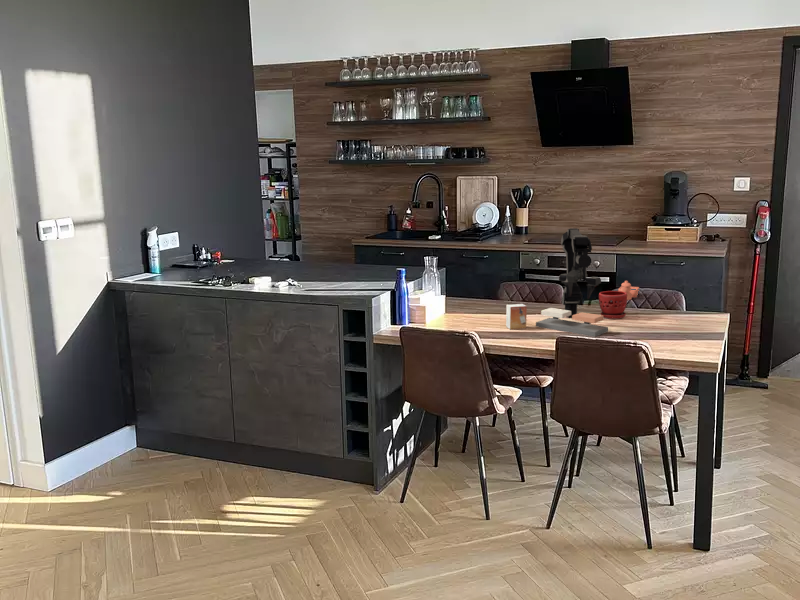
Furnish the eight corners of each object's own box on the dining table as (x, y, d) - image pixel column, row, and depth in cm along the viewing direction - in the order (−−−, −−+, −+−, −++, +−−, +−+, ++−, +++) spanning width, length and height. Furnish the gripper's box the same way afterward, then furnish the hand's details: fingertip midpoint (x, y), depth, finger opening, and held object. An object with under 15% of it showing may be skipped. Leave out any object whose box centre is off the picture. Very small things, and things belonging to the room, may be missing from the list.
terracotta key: (581, 319, 357) (581, 312, 356) (603, 323, 350) (603, 315, 349) (571, 323, 351) (572, 315, 351) (594, 326, 344) (594, 318, 343)
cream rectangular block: (550, 315, 368) (550, 307, 367) (571, 318, 360) (571, 310, 360) (541, 318, 362) (541, 310, 361) (562, 321, 355) (562, 313, 354)
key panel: (549, 321, 371) (549, 317, 370) (608, 331, 351) (608, 327, 351) (535, 326, 362) (535, 322, 362) (594, 336, 342) (595, 332, 342)
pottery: (621, 293, 435) (621, 275, 433) (638, 294, 431) (639, 276, 429) (615, 299, 419) (615, 281, 417) (633, 300, 415) (634, 282, 413)
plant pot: (622, 313, 385) (623, 289, 382) (629, 320, 372) (630, 295, 369) (595, 314, 385) (596, 290, 383) (601, 320, 372) (602, 295, 370)
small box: (509, 329, 358) (510, 306, 355) (505, 326, 363) (506, 304, 361) (526, 328, 359) (527, 305, 357) (522, 325, 364) (522, 303, 362)
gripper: (552, 264, 358) (552, 298, 361) (589, 268, 345) (588, 303, 348) (565, 261, 366) (564, 294, 369) (602, 265, 353) (601, 299, 356)
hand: (579, 297), depth 360 cm, fingers open, 9 cm apart
